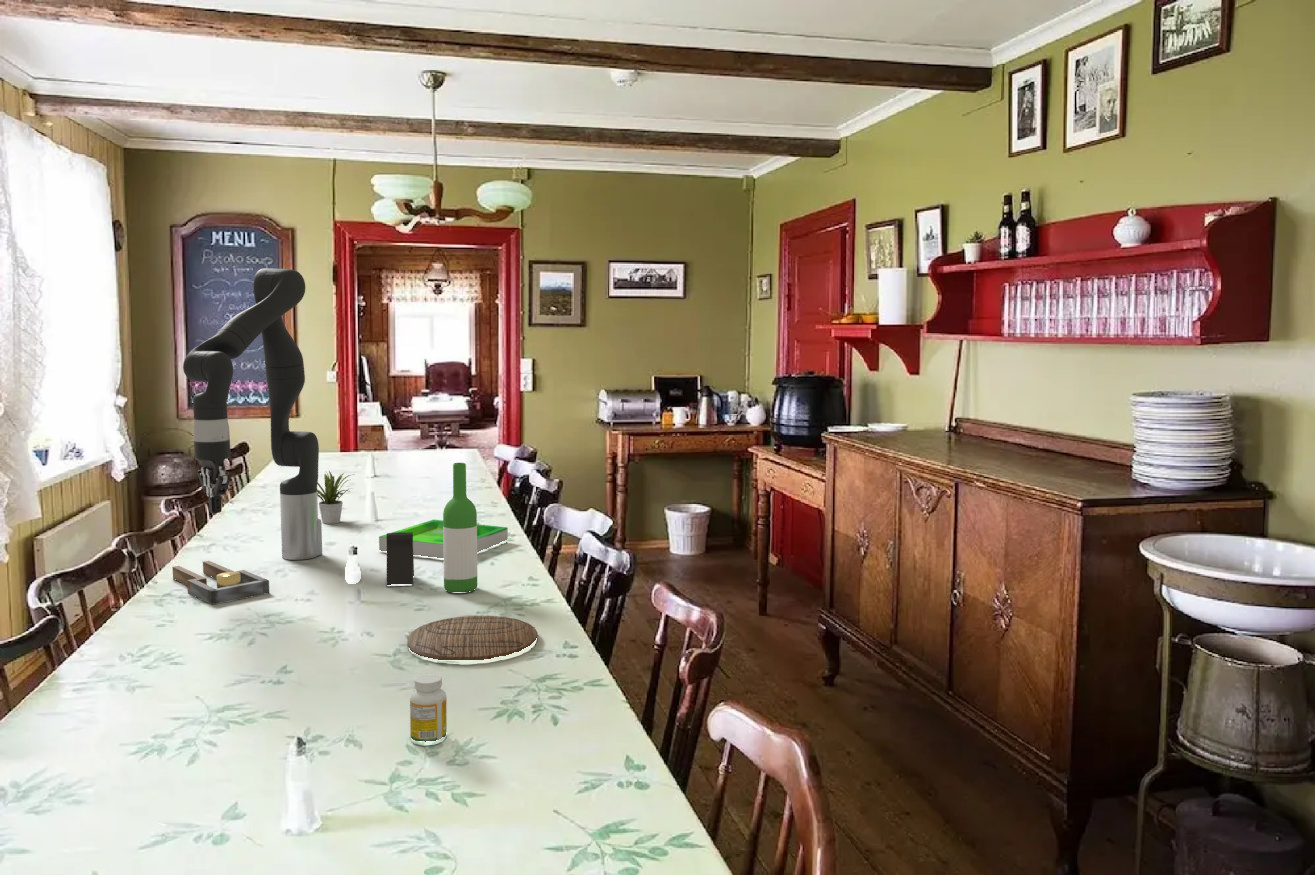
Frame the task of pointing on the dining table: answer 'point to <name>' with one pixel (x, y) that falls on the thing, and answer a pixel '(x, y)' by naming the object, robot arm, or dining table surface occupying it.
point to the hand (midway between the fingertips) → (215, 512)
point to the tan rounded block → (228, 579)
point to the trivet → (471, 638)
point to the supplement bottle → (428, 709)
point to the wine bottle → (460, 537)
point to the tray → (431, 538)
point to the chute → (200, 589)
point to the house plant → (331, 499)
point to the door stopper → (400, 558)
